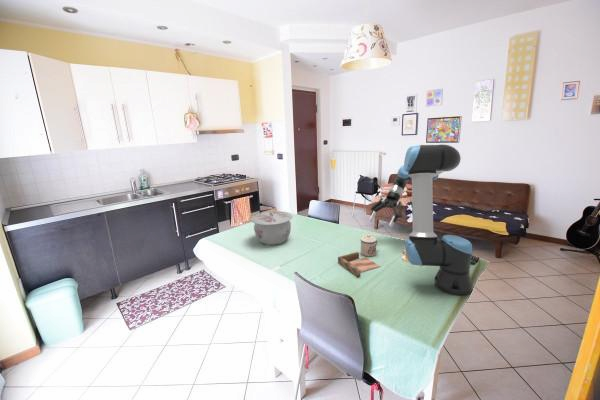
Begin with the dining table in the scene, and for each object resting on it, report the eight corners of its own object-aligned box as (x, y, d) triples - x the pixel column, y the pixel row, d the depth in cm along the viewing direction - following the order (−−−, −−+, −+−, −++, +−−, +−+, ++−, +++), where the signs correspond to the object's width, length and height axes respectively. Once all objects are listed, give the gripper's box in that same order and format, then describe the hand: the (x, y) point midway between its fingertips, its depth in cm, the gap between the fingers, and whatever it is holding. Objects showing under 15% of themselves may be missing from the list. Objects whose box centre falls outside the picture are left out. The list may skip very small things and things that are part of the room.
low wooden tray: (384, 269, 145) (384, 263, 144) (357, 277, 138) (357, 271, 137) (362, 255, 160) (362, 250, 160) (338, 262, 154) (337, 256, 153)
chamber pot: (279, 252, 169) (276, 220, 164) (244, 245, 183) (241, 215, 178) (301, 236, 193) (300, 207, 188) (269, 230, 206) (267, 204, 201)
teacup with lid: (369, 258, 157) (369, 239, 154) (357, 253, 164) (357, 234, 161) (382, 252, 163) (383, 233, 160) (370, 247, 171) (371, 229, 168)
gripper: (416, 200, 165) (401, 231, 159) (379, 194, 183) (365, 221, 178) (412, 193, 160) (397, 225, 155) (374, 188, 178) (360, 216, 173)
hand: (380, 223), depth 166 cm, fingers open, 13 cm apart
